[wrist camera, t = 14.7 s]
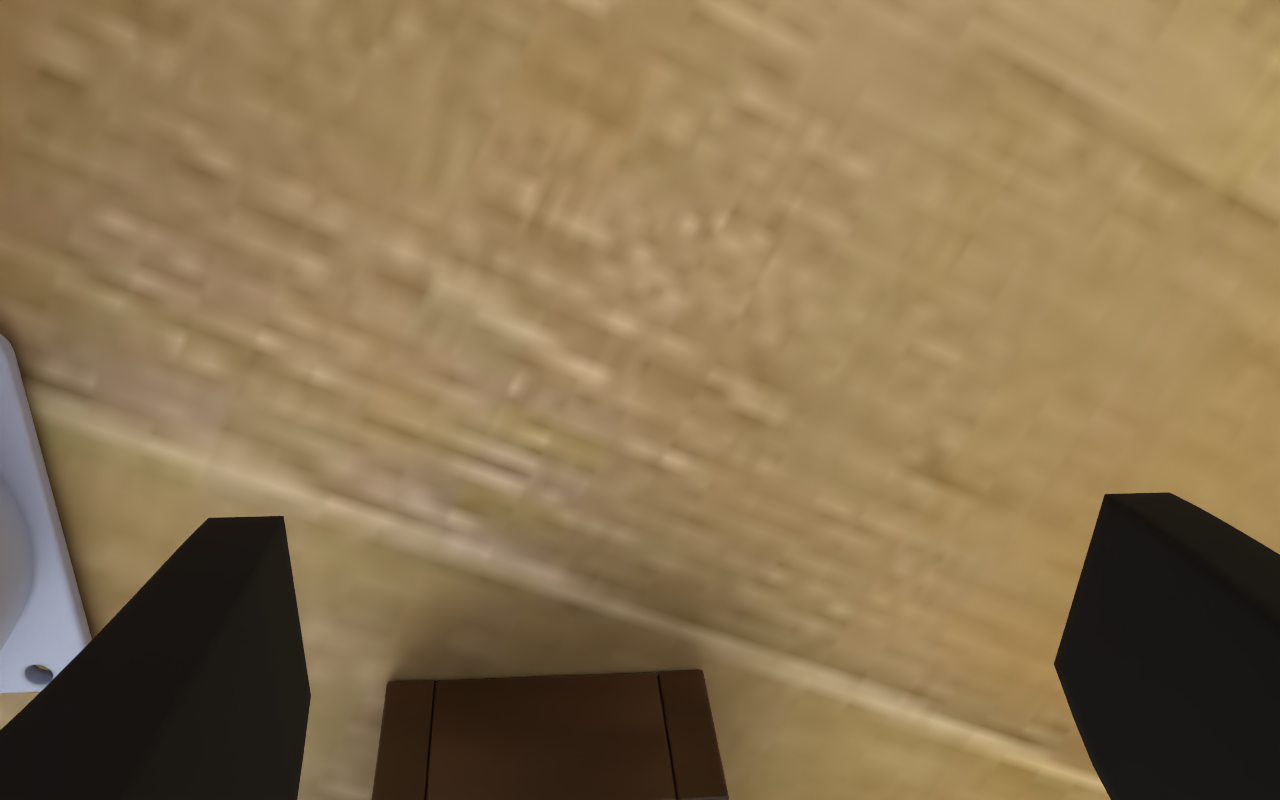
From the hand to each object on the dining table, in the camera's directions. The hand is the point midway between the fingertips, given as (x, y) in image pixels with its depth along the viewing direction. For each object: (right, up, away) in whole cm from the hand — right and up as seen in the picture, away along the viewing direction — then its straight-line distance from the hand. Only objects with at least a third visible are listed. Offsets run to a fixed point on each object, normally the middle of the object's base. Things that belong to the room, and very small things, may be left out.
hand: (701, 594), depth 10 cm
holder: (-3, -7, +16) cm, 18 cm away
